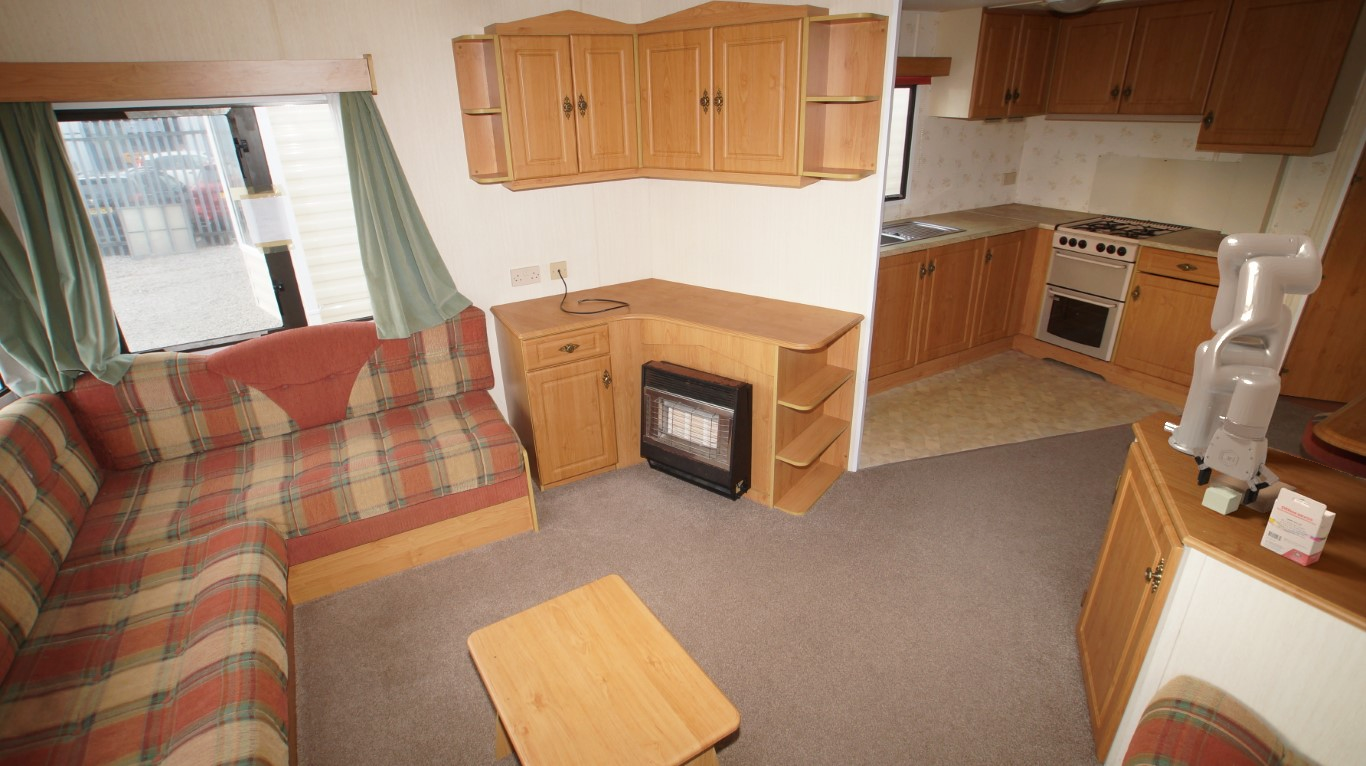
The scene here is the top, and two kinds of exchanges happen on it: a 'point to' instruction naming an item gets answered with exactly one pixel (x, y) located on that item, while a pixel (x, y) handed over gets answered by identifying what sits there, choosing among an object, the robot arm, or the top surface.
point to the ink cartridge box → (1297, 527)
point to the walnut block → (1265, 495)
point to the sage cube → (1221, 499)
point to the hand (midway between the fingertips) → (1224, 493)
